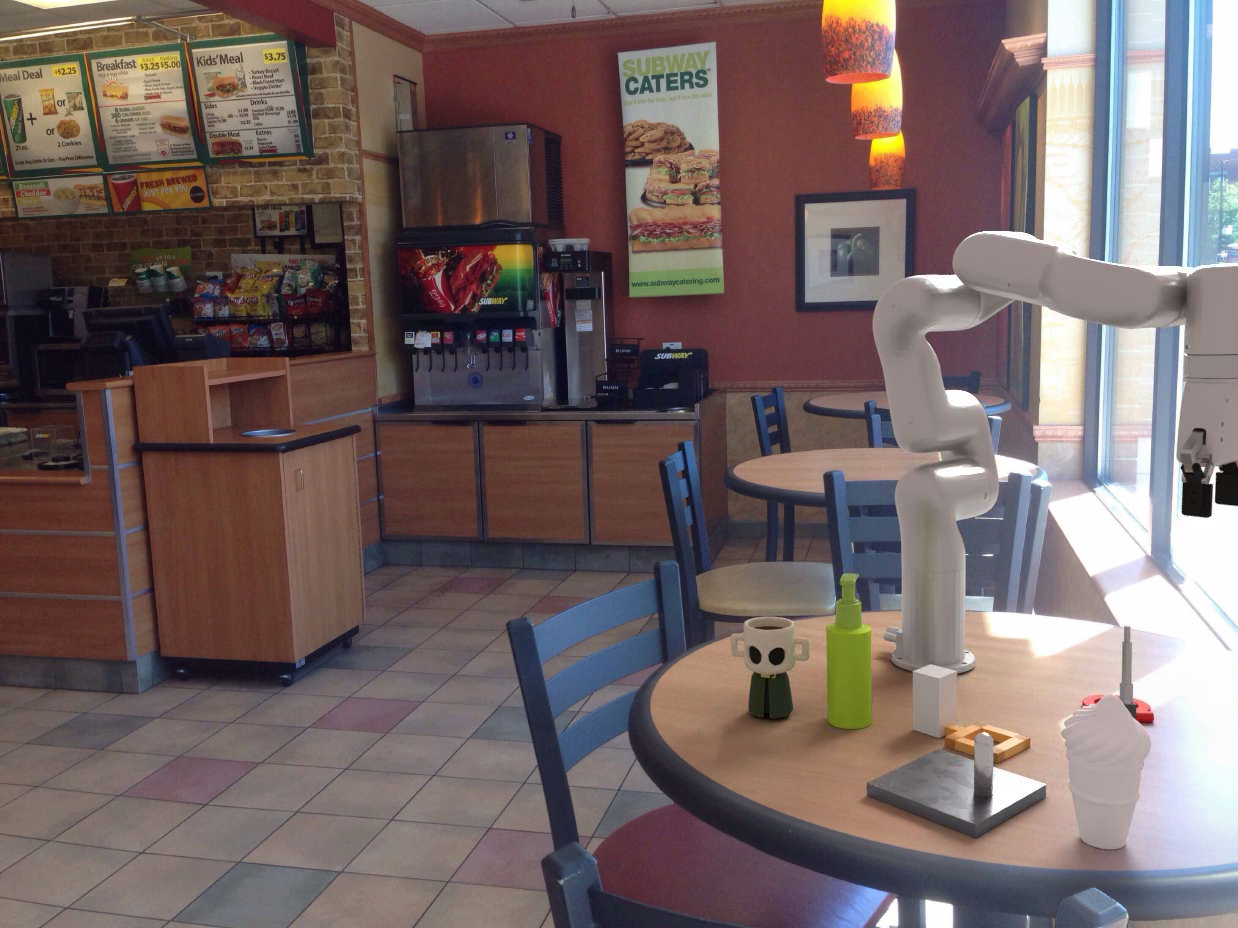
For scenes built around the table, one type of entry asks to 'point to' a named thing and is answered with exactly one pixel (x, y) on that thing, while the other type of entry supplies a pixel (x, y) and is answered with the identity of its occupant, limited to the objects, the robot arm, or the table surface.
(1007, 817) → the plate
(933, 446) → the robot arm
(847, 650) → the soap dispenser
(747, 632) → the character mug
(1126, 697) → the tow hook
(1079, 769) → the soft serve ice cream cone
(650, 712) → the table surface
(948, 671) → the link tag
